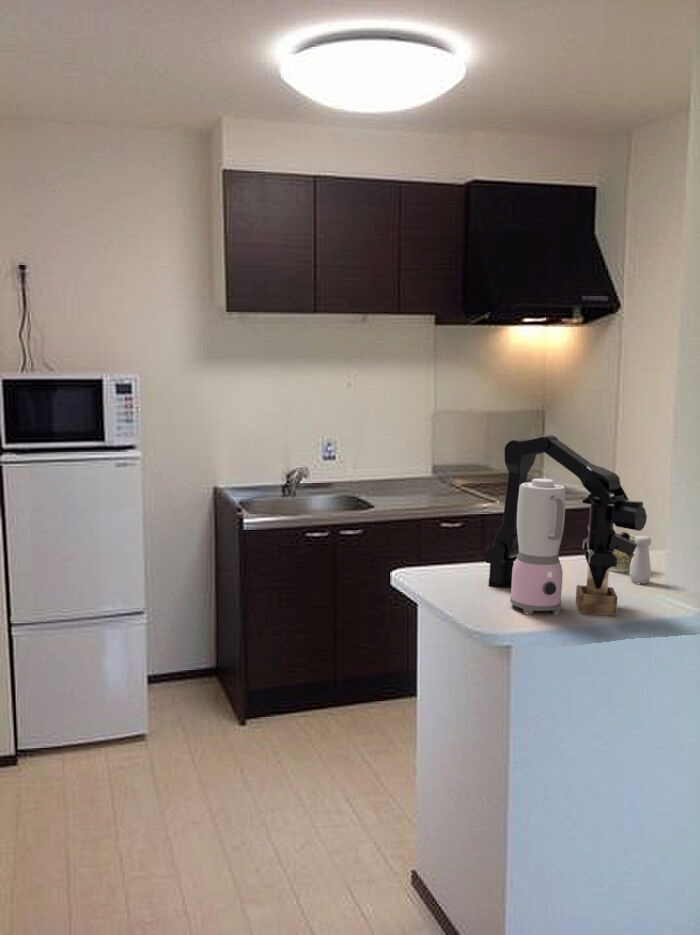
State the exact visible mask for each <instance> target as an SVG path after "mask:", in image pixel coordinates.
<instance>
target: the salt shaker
mask: <svg viewBox="0 0 700 935" xmlns="http://www.w3.org/2000/svg"><path fill="white" fill-rule="evenodd" d="M635 536H636V537H635V543H636V544H637V546H636V549H635V551H634V553H633V554H634V556H633V558H632V560H631V564H630V568H629V571H628V572H629V573H628V574H629V576H630V581H631V582H632V583H633V582H635V583H634V584H636V583H642V584H641V585H646V584H645V583H647V584H648V583H649V581H651V578H652V568H651V559H650V550H649V546H651V544H652V539H651V537H650V536H647V535H642V534H641V535H635Z"/></svg>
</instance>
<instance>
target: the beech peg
mask: <svg viewBox="0 0 700 935" xmlns="http://www.w3.org/2000/svg"><path fill="white" fill-rule="evenodd" d="M588 561H589V559H588ZM609 577H610V571H609V569H608V570H607V571H606V574H605V577H604V580H603V583H602V586H601V588H600V589H596V587H595V584H594V581H593V577H592V574H591V571H590V568H589V564H587V577H586V586H587V588H586V594H590V595H605V596H607V590H608V587H609Z"/></svg>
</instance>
